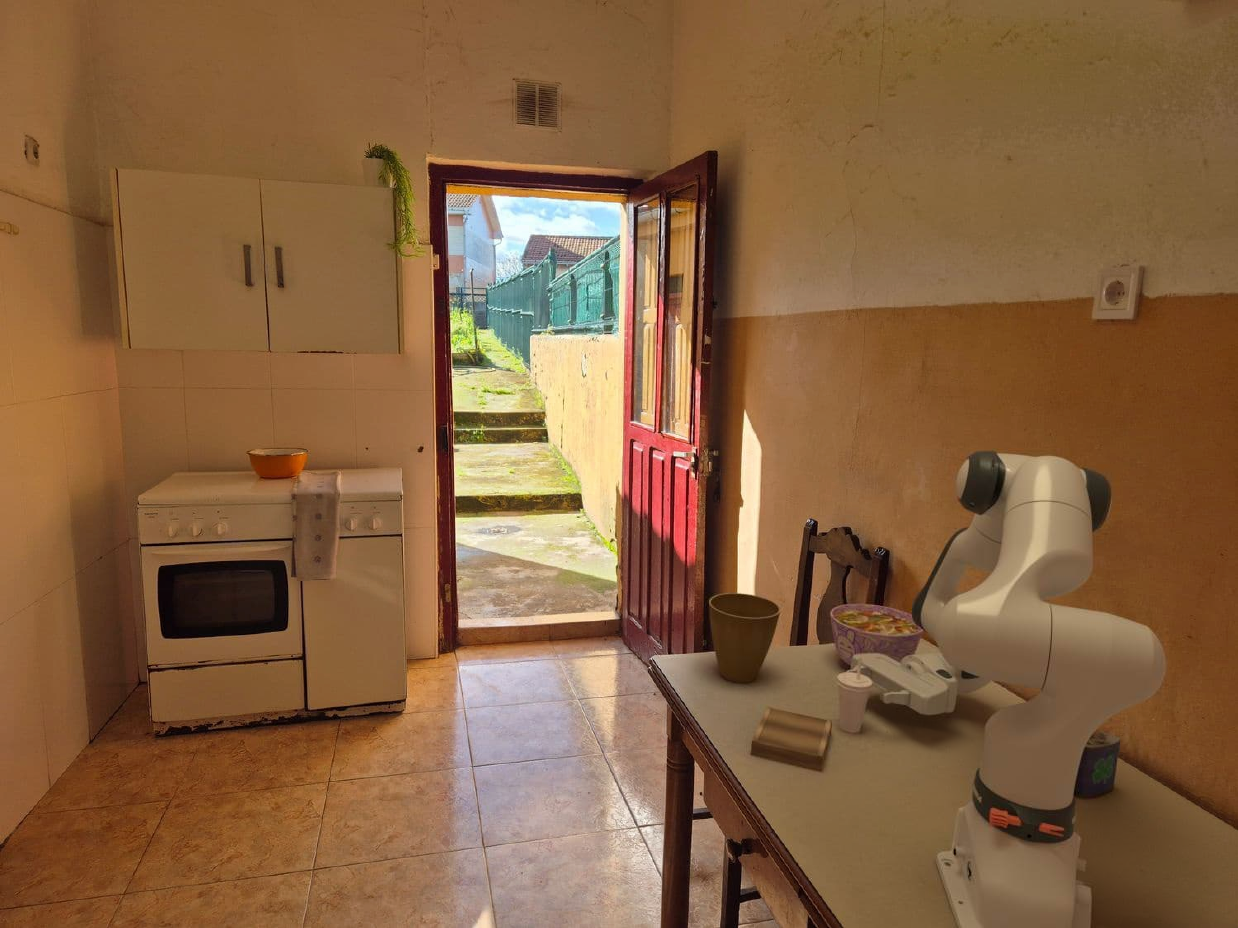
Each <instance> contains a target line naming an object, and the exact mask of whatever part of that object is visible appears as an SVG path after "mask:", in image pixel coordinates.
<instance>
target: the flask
mask: <svg viewBox="0 0 1238 928" xmlns="http://www.w3.org/2000/svg"><path fill="white" fill-rule="evenodd" d="M1096 731H1097V732H1098V734H1096V735H1095V736H1094V738H1091V739H1090V738H1089V740H1088V742H1087V743H1086V745H1085V748H1084V750H1083V753H1082V757H1081V760H1080V764H1079V768H1078V772H1077V777H1076V782H1075V788H1074V794H1073V795H1074V796H1075V799H1079V800H1080V799H1081V800H1089V799H1094V798H1099V797H1101V796H1104V795H1107V794H1108V793H1111V792H1112V791H1113V789H1114V786H1115V779H1116V772H1117V771H1116V770H1117V766H1118V759H1119V752H1120V746H1121V738H1119V737H1118V736H1116V735H1114V734H1110V733H1109V734H1108V733H1107V732H1106V731H1103V730H1102V729H1099V728H1097V729H1096Z"/></svg>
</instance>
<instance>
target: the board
mask: <svg viewBox="0 0 1238 928" xmlns="http://www.w3.org/2000/svg"><path fill="white" fill-rule="evenodd" d="M832 727H833V720H832V719H828V718H827V719H823V718H820V717H815V716H809V715H805V714H801V713H796V712H792V711H786V710H781V709H777V708H773V707H771V706H767V707H766V709H765V711H764V713H763V715H762V717H761V720H760V722H759V724H758V727H757V729H756V731H755V733H754V736H753V738H752V740H751V744H750V745H751V747H750V755H751V756H755V757H759V758H763V759H767V760H771V761H776V762H781V763H785V764H789V765H793V766H797V767H801V768H805V769H810V770H814V771H818V772H822V771H823V767H824V764H825V760H826V755H827V751H828V747H829V744H830V743H829V742H830V741H831V740H830V739H831V736H832V730H833V729H832Z"/></svg>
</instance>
